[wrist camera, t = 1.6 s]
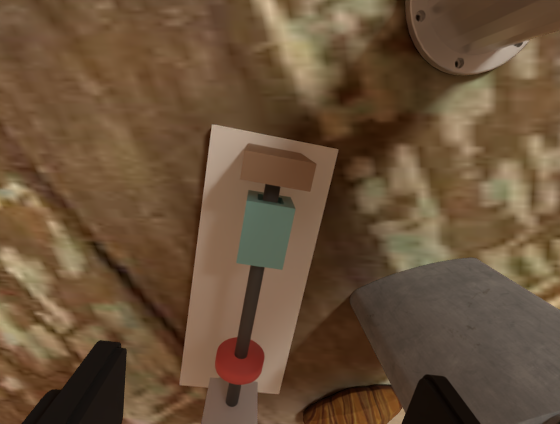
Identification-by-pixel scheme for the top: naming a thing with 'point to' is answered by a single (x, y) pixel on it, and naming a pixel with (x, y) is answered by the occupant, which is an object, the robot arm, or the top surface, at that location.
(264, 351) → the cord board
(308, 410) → the croissant
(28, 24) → the top surface
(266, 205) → the sleeve
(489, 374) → the hip flask
